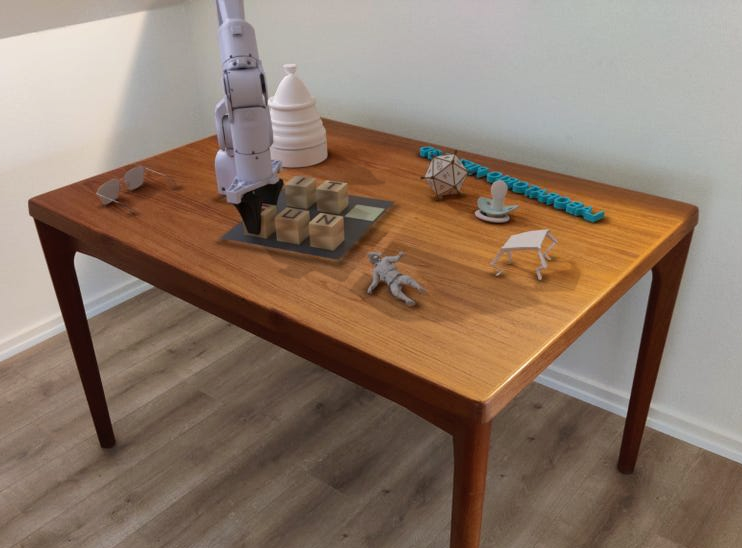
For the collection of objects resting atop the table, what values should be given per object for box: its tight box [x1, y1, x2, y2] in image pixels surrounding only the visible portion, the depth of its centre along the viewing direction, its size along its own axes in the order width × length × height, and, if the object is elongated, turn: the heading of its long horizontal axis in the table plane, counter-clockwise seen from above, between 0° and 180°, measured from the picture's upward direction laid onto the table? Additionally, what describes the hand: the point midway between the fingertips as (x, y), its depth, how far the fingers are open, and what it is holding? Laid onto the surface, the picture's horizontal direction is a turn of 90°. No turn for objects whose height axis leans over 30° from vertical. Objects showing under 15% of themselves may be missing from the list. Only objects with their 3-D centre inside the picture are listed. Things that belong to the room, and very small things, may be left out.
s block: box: [243, 204, 277, 239], centre depth 123 cm, size 4×4×4 cm
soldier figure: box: [366, 251, 427, 307], centre depth 108 cm, size 8×5×12 cm
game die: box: [419, 149, 473, 201], centre depth 135 cm, size 9×8×10 cm
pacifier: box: [474, 180, 519, 224], centre depth 127 cm, size 7×6×6 cm
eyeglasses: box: [95, 165, 179, 215], centre depth 139 cm, size 14×8×4 cm, turn 155°
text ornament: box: [419, 146, 606, 223], centre depth 141 cm, size 45×3×1 cm, turn 39°
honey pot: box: [268, 63, 328, 168], centre depth 151 cm, size 13×13×18 cm
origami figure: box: [489, 229, 559, 281], centre depth 112 cm, size 12×8×5 cm
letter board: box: [219, 175, 395, 261], centre depth 127 cm, size 22×24×5 cm
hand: (261, 227), depth 124 cm, fingers closed on s block, 4 cm apart
